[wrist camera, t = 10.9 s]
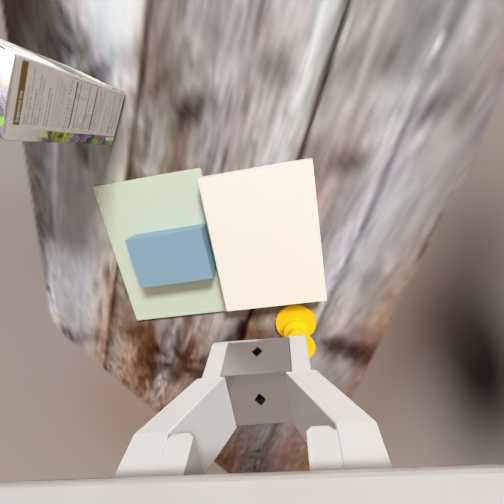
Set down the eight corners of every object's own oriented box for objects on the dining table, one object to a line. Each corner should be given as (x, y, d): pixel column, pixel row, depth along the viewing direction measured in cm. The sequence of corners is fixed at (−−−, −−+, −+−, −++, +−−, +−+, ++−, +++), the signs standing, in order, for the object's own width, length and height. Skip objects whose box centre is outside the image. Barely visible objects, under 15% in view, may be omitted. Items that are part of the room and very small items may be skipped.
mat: (94, 186, 35) (92, 186, 35) (201, 167, 34) (199, 167, 33) (138, 318, 41) (137, 320, 41) (231, 308, 39) (230, 310, 39)
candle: (323, 314, 39) (350, 418, 24) (303, 344, 40) (317, 457, 26) (287, 297, 38) (292, 391, 24) (268, 328, 40) (263, 433, 25)
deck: (202, 176, 34) (197, 178, 32) (309, 158, 32) (312, 159, 30) (230, 301, 39) (226, 311, 37) (323, 290, 38) (326, 300, 35)
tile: (134, 234, 37) (124, 240, 34) (205, 223, 35) (200, 228, 33) (148, 279, 38) (140, 288, 36) (216, 270, 37) (212, 278, 35)
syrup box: (65, 122, 33) (-83, 107, 20) (76, 66, 31) (-80, 6, 18) (113, 145, 34) (1, 145, 20) (127, 90, 32) (14, 49, 18)
